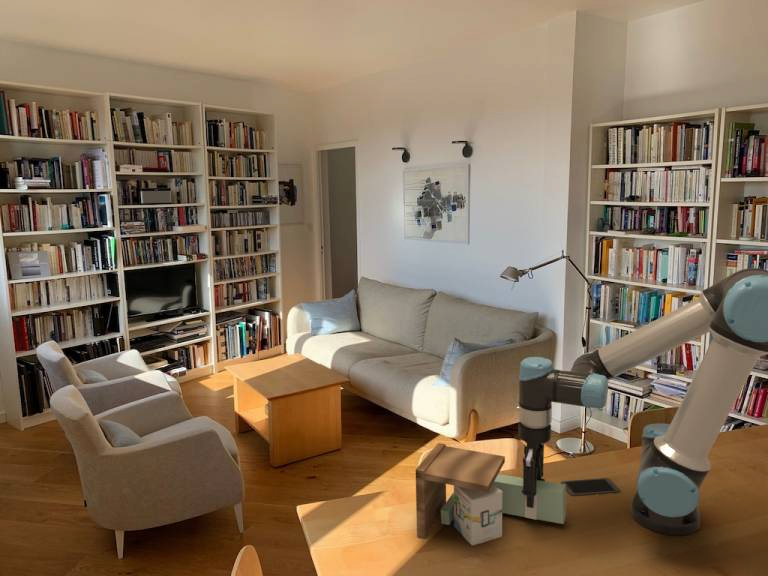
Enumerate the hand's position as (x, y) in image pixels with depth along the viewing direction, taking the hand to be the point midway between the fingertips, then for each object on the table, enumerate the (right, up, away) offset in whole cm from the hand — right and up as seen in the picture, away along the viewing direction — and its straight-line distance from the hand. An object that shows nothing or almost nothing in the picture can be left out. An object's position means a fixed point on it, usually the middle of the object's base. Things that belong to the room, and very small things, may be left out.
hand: (532, 512), depth 142 cm
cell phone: (+19, +1, +14) cm, 24 cm away
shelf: (-18, -3, -2) cm, 18 cm away
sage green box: (-7, -1, -1) cm, 8 cm away
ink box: (-14, -3, -4) cm, 15 cm away
